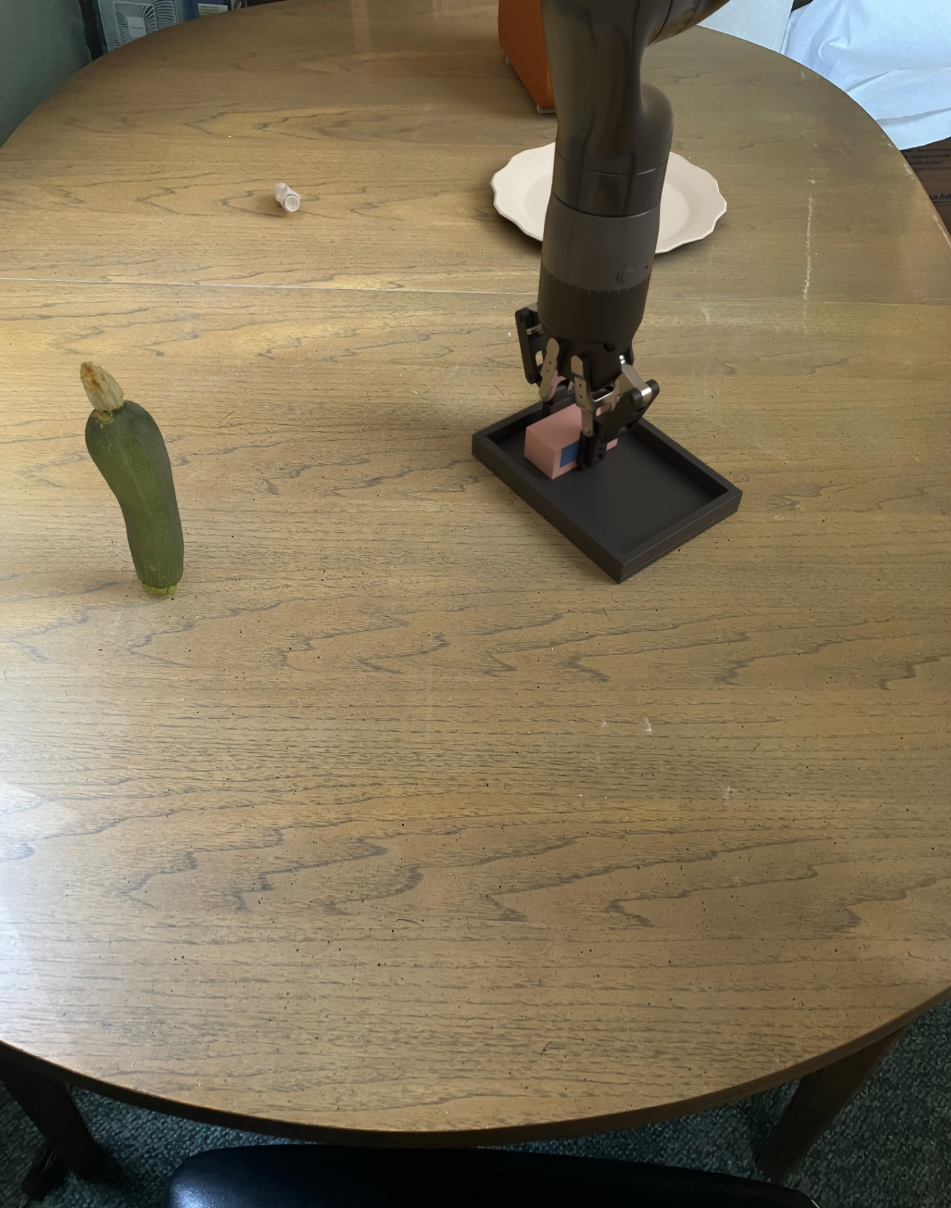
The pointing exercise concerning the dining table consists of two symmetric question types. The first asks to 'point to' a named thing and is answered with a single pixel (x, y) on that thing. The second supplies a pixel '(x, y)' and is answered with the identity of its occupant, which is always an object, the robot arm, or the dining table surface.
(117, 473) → the vegetable
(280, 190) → the small white plastic part
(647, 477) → the tray
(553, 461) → the eraser
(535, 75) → the alarm clock
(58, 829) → the dining table surface
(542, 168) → the plate
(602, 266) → the robot arm
